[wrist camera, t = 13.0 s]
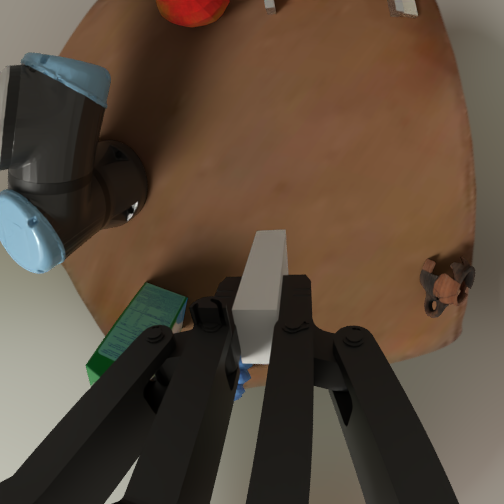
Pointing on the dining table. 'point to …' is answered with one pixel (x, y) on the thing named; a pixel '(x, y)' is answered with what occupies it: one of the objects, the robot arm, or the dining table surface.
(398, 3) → the keeper bracket
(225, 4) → the apple
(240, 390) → the grapes
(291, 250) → the dining table surface
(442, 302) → the brown grey arched sculpture
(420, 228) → the dining table surface
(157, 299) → the milk carton
